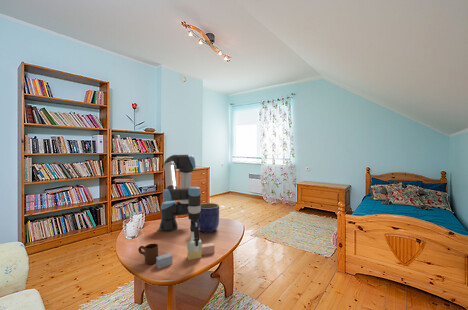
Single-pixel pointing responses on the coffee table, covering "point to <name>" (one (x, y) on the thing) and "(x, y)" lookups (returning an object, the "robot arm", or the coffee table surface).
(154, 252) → the mug
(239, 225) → the coffee table surface
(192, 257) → the mustard brick
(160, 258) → the slate brick
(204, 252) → the terracotta brick
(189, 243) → the sage brick
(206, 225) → the planter
